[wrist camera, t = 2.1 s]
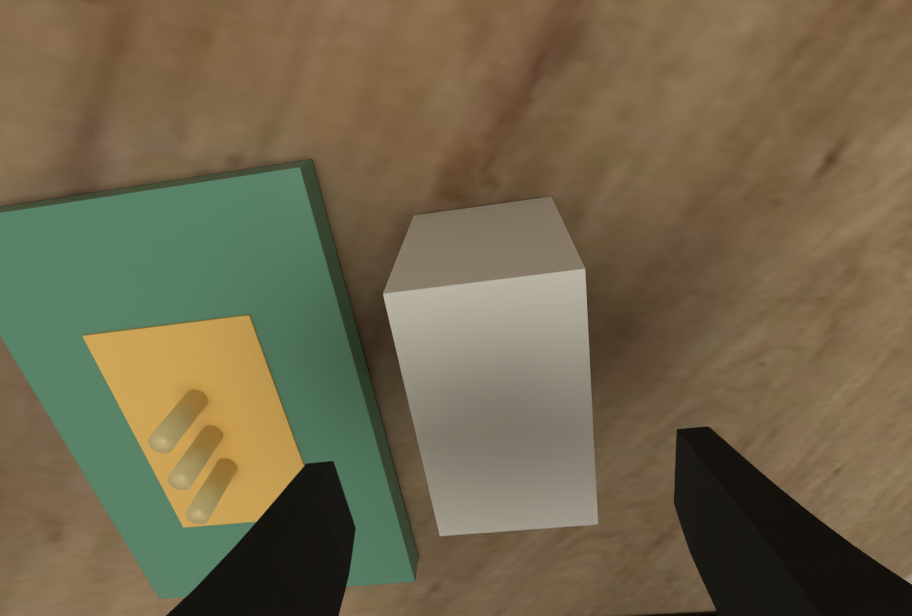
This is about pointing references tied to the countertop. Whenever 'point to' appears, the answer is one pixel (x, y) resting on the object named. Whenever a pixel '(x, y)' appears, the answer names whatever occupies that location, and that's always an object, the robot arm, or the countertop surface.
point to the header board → (201, 362)
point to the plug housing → (497, 366)
